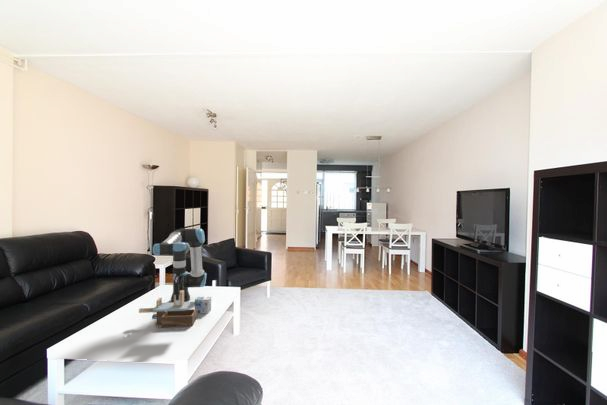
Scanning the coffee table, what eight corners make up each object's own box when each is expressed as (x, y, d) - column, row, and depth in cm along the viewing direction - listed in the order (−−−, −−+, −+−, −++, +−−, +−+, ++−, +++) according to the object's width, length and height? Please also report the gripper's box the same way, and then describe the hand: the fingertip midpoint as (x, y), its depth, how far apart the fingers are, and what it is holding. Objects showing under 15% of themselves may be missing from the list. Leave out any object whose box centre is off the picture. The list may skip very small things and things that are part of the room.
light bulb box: (194, 313, 218) (194, 299, 218) (197, 309, 225) (197, 296, 225) (208, 313, 218) (208, 299, 218) (211, 310, 224) (211, 296, 224)
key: (140, 311, 198) (140, 308, 198) (161, 310, 200) (161, 307, 200) (138, 312, 196) (138, 309, 196) (160, 312, 198) (160, 308, 198)
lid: (159, 304, 189) (159, 289, 189) (190, 303, 192) (190, 288, 192) (152, 311, 177) (152, 295, 177) (185, 310, 180) (185, 294, 180)
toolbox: (161, 320, 205) (161, 302, 205) (196, 318, 208) (196, 301, 208) (154, 327, 193) (154, 309, 193) (192, 326, 196) (192, 308, 196)
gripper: (177, 263, 193) (177, 298, 194) (168, 270, 175) (168, 308, 176) (189, 263, 194) (188, 298, 195) (181, 270, 176) (181, 308, 177)
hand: (178, 303), depth 185 cm, fingers closed on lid, 5 cm apart
